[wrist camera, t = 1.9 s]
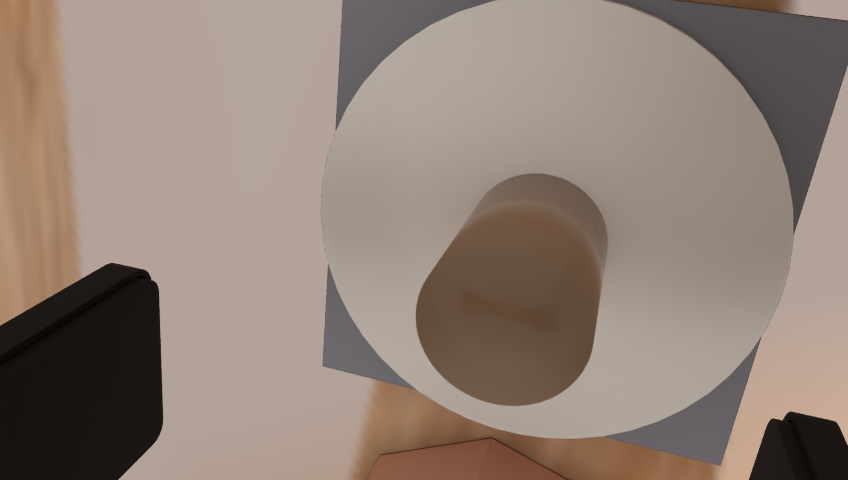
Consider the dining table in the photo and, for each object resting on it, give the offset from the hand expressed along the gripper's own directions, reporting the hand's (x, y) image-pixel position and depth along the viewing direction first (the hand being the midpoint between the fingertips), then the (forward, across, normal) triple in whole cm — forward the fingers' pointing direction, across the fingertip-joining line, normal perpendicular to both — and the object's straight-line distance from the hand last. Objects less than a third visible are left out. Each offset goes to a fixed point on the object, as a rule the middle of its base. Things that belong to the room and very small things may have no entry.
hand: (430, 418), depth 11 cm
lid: (+8, -1, 0) cm, 8 cm away
